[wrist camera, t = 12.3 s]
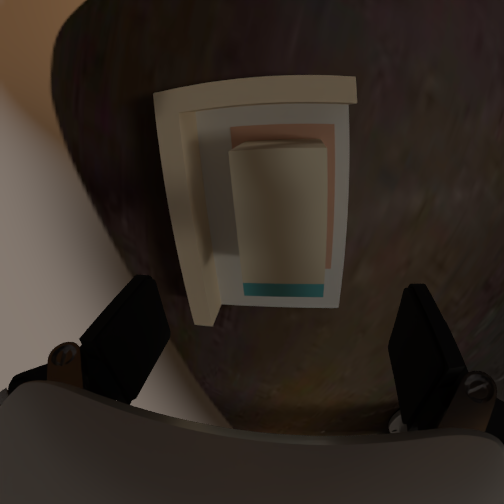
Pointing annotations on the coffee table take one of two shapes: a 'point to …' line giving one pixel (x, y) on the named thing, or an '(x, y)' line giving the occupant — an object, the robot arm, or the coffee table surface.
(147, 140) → the coffee table surface
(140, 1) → the coffee table surface
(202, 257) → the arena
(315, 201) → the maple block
